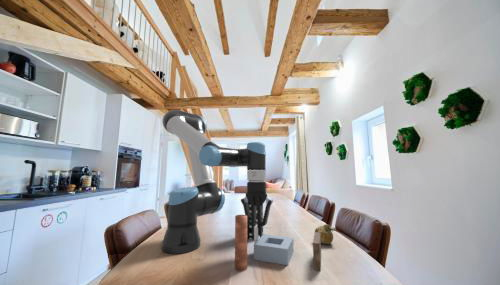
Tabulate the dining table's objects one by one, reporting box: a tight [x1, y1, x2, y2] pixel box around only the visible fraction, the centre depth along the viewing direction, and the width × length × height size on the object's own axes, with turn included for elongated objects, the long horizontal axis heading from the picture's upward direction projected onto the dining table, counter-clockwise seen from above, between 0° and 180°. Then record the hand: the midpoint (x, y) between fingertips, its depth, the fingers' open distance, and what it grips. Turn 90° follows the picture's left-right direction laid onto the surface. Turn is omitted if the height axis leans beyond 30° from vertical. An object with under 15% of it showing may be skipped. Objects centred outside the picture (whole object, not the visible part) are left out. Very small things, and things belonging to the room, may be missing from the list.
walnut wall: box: [312, 231, 322, 272], centre depth 69 cm, size 2×12×8 cm, turn 159°
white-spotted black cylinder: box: [245, 192, 264, 241], centre depth 96 cm, size 8×8×20 cm
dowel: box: [234, 214, 248, 272], centre depth 65 cm, size 4×4×16 cm
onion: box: [314, 223, 337, 245], centre depth 87 cm, size 8×8×8 cm
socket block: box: [253, 233, 294, 266], centre depth 74 cm, size 12×12×5 cm
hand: (257, 244), depth 76 cm, fingers closed
